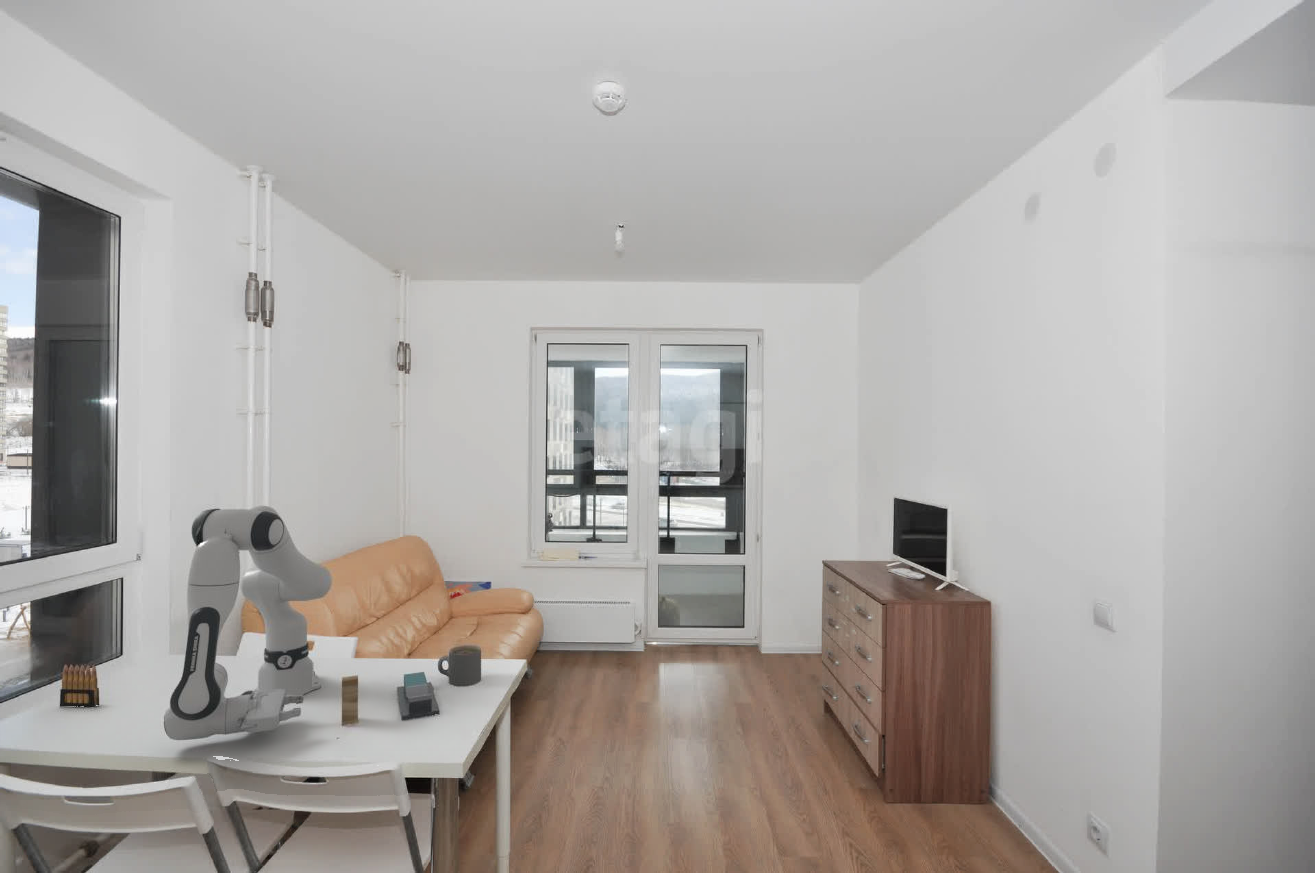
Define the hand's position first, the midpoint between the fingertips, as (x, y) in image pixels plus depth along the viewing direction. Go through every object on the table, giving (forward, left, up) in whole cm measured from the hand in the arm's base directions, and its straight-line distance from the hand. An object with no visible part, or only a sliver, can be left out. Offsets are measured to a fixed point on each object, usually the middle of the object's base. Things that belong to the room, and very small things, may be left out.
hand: (302, 705), depth 177 cm
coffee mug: (-20, +44, -7) cm, 48 cm away
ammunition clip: (-45, -60, -7) cm, 76 cm away
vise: (-7, +30, -7) cm, 31 cm away
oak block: (0, +12, -7) cm, 13 cm away
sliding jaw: (-14, +30, -5) cm, 33 cm away
